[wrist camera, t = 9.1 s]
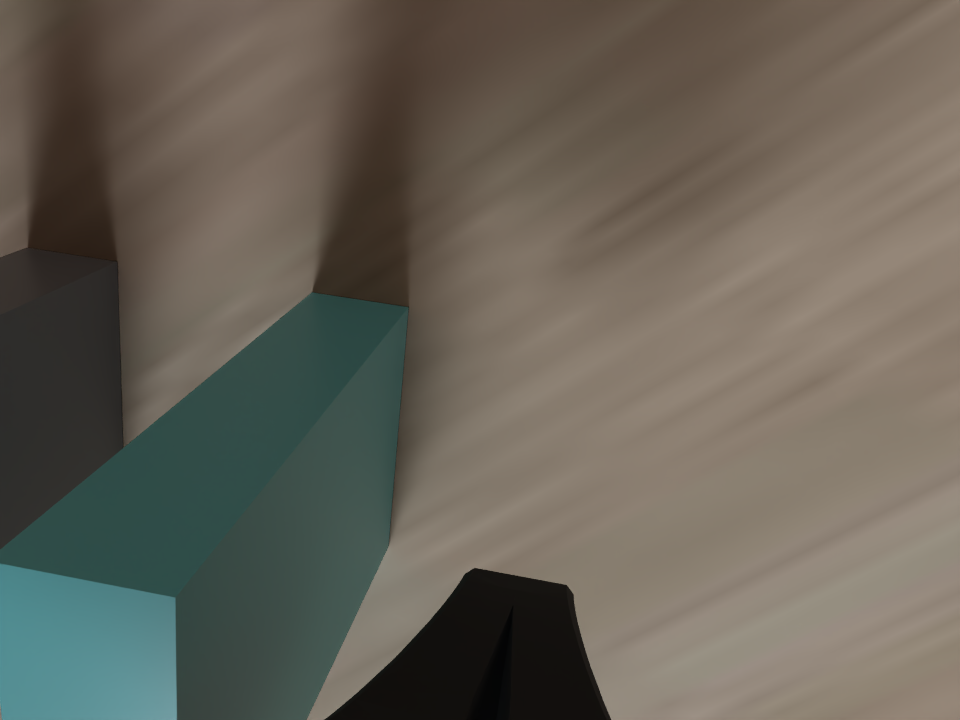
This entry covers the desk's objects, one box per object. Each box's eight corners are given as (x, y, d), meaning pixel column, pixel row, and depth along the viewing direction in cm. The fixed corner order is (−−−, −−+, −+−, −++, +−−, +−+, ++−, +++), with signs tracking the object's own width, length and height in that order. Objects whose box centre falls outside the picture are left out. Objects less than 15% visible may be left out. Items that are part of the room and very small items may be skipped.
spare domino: (301, 530, 18) (24, 949, 10) (312, 292, 17) (-14, 560, 8) (388, 546, 18) (180, 986, 10) (408, 307, 16) (175, 597, 8)
